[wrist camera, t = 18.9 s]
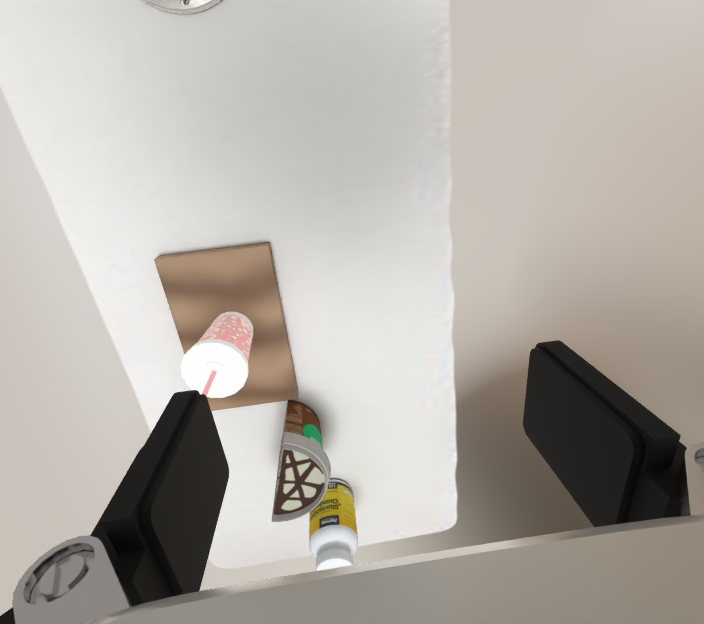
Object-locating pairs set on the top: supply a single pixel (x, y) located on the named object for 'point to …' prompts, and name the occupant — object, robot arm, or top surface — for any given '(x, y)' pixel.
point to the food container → (300, 465)
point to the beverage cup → (220, 357)
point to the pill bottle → (334, 528)
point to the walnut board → (233, 296)
